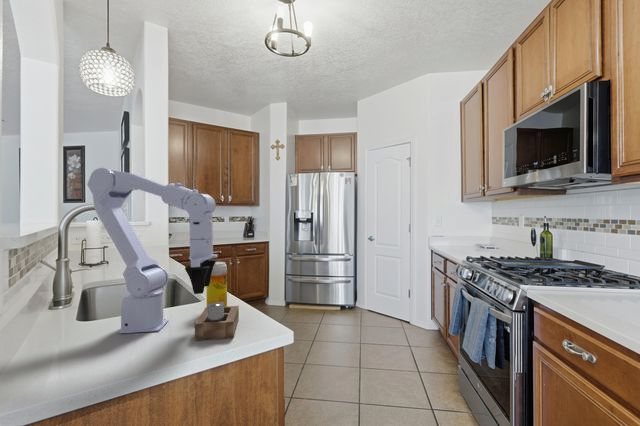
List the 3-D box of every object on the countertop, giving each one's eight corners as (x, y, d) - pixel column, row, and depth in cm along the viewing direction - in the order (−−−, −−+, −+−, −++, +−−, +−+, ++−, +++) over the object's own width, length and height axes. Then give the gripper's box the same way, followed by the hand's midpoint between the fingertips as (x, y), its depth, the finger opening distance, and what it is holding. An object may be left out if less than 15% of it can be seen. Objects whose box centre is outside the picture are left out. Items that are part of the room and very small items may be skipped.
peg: (206, 335, 75) (206, 307, 75) (208, 329, 79) (208, 302, 79) (223, 334, 76) (223, 306, 76) (224, 328, 80) (224, 301, 80)
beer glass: (223, 313, 93) (223, 264, 93) (203, 313, 93) (203, 264, 93) (229, 307, 99) (229, 261, 99) (211, 307, 99) (210, 261, 99)
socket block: (194, 340, 74) (194, 324, 74) (205, 321, 86) (205, 307, 86) (233, 337, 75) (233, 321, 75) (238, 319, 88) (238, 305, 88)
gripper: (211, 240, 75) (212, 296, 75) (221, 236, 89) (221, 282, 89) (181, 241, 74) (182, 297, 74) (195, 236, 88) (196, 284, 88)
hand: (202, 289), depth 82 cm, fingers open, 7 cm apart
